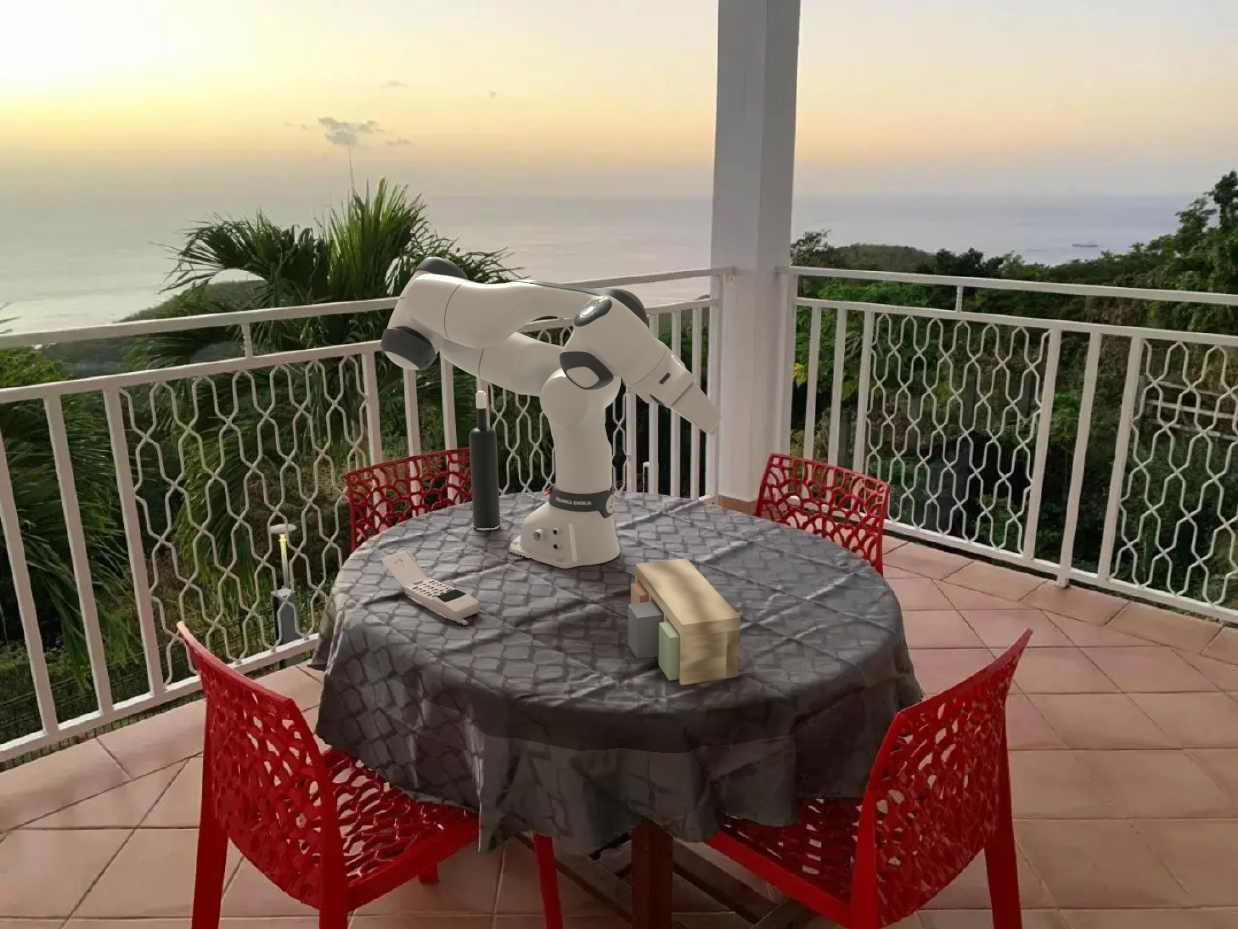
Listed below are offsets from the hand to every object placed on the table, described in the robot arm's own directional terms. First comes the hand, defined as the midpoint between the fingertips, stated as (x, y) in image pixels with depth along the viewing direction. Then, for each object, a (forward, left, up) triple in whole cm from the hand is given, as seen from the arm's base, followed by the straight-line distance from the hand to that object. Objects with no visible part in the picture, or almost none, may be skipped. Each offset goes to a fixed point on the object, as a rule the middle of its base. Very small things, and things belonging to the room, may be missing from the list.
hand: (712, 430), depth 151 cm
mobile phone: (-45, -20, -32) cm, 58 cm away
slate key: (-1, -20, -31) cm, 37 cm away
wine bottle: (-56, +16, -32) cm, 67 cm away
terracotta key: (-4, -13, -31) cm, 34 cm away
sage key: (+6, -24, -31) cm, 40 cm away
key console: (+2, -17, -31) cm, 36 cm away
